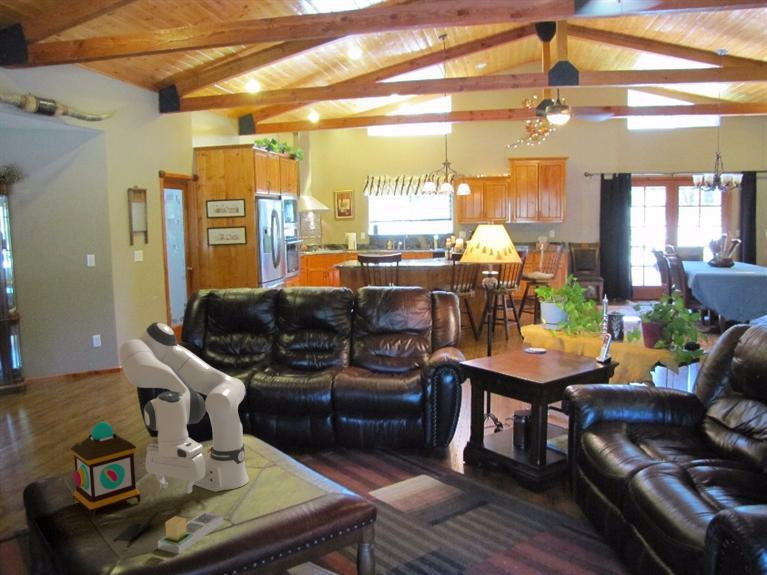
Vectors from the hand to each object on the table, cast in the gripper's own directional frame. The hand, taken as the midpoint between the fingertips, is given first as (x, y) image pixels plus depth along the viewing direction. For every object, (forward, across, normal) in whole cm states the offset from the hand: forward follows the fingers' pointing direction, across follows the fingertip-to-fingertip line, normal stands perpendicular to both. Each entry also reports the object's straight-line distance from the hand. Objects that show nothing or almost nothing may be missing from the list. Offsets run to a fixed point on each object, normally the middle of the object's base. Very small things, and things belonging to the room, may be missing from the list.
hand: (176, 490), depth 189 cm
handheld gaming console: (+19, -19, +2) cm, 26 cm away
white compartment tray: (+18, 0, +6) cm, 19 cm away
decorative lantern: (+18, -45, +15) cm, 51 cm away
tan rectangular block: (+18, -1, 0) cm, 18 cm away
